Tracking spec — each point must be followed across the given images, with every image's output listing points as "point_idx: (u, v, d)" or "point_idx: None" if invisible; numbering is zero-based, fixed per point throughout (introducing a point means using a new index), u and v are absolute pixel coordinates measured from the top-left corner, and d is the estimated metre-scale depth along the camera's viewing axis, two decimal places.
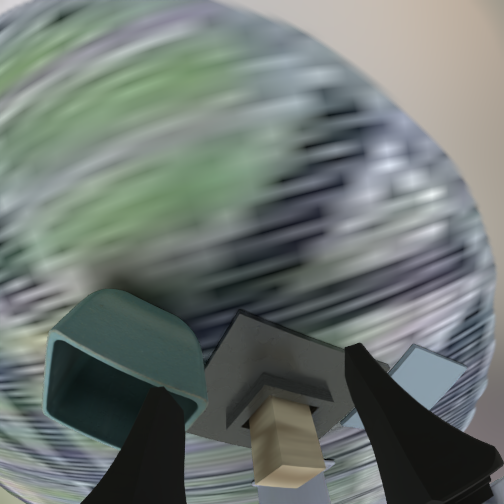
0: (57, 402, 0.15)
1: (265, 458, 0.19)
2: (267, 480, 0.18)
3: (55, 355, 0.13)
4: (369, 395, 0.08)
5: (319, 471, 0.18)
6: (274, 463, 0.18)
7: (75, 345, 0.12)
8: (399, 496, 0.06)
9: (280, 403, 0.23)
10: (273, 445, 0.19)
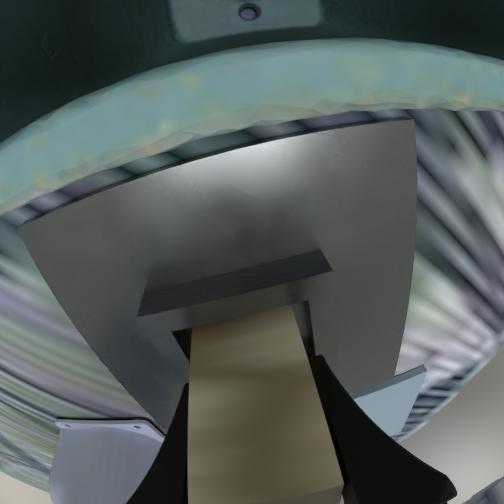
0: None
1: (254, 447, 0.07)
2: None
3: None
4: (323, 409, 0.08)
5: None
6: (299, 472, 0.06)
7: None
8: None
9: None
10: (299, 422, 0.07)
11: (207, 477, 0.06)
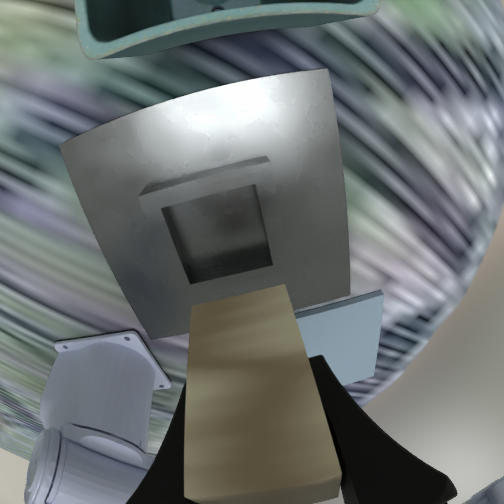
0: None
1: (251, 436, 0.07)
2: (229, 498, 0.06)
3: None
4: (324, 409, 0.08)
5: (323, 500, 0.07)
6: (296, 461, 0.06)
7: None
8: None
9: None
10: (296, 411, 0.07)
11: (203, 467, 0.06)
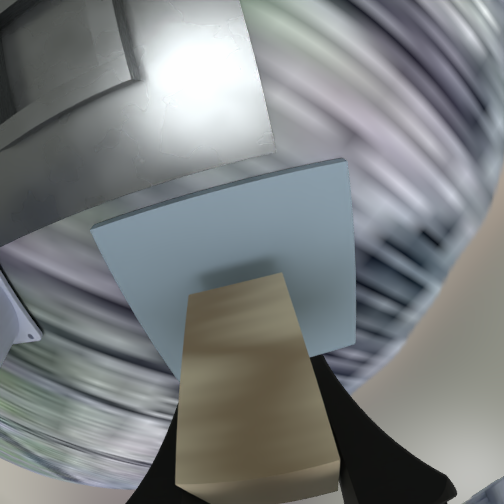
0: None
1: (246, 421, 0.07)
2: (222, 487, 0.06)
3: None
4: None
5: (321, 493, 0.07)
6: (292, 447, 0.06)
7: None
8: None
9: None
10: (293, 395, 0.07)
11: (196, 453, 0.06)
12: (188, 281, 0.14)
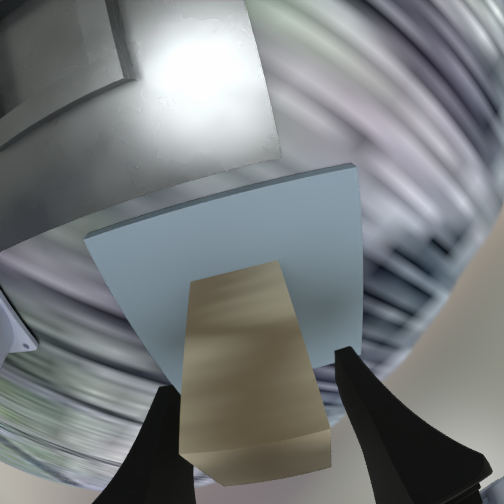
0: None
1: (244, 394, 0.08)
2: (222, 456, 0.07)
3: None
4: (357, 399, 0.08)
5: (316, 469, 0.08)
6: (286, 417, 0.07)
7: None
8: (387, 501, 0.06)
9: None
10: (287, 370, 0.08)
11: (198, 424, 0.07)
12: (188, 293, 0.14)
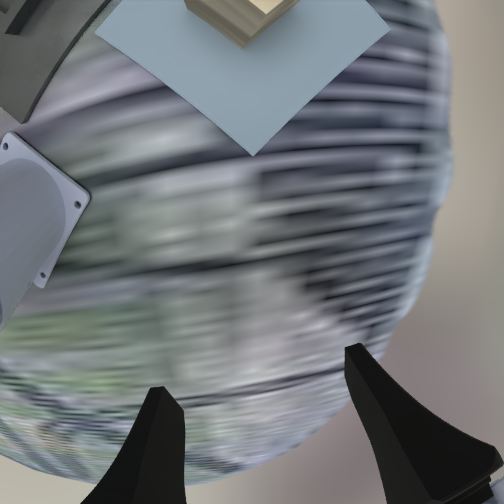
0: None
1: None
2: None
3: None
4: (369, 395, 0.08)
5: None
6: None
7: None
8: (399, 496, 0.06)
9: None
10: None
11: None
12: (190, 18, 0.12)
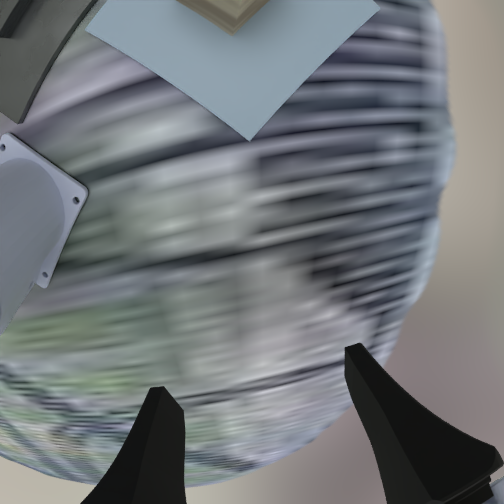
0: None
1: None
2: None
3: None
4: (369, 395, 0.08)
5: None
6: None
7: None
8: (399, 496, 0.06)
9: None
10: None
11: None
12: (178, 8, 0.11)
